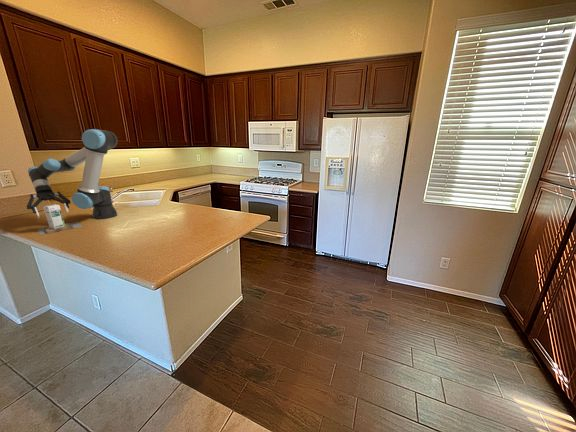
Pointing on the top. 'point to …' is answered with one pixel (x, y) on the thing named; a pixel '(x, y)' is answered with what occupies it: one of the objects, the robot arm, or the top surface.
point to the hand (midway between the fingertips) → (53, 214)
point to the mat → (74, 225)
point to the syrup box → (54, 216)
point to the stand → (50, 230)
